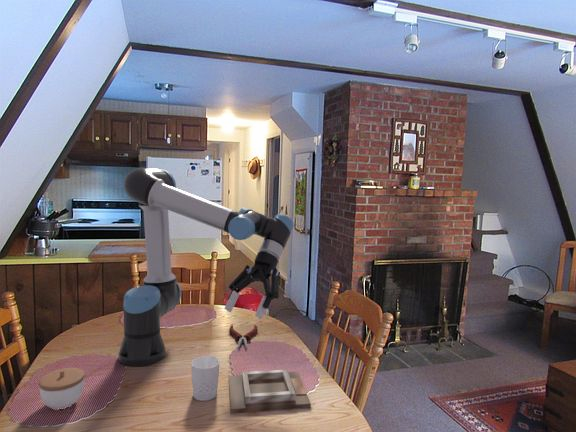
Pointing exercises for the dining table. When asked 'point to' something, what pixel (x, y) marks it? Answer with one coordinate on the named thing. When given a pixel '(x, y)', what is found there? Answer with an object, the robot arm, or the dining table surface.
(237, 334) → the pliers
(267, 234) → the robot arm
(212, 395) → the white cup
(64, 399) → the lidded jar
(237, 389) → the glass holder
